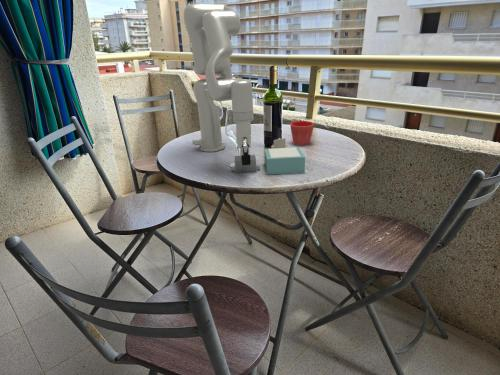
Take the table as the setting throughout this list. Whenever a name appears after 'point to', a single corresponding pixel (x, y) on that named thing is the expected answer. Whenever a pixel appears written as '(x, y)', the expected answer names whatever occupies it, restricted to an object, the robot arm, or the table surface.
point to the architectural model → (279, 143)
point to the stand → (284, 160)
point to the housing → (245, 168)
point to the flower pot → (301, 132)
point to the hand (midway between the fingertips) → (246, 160)
